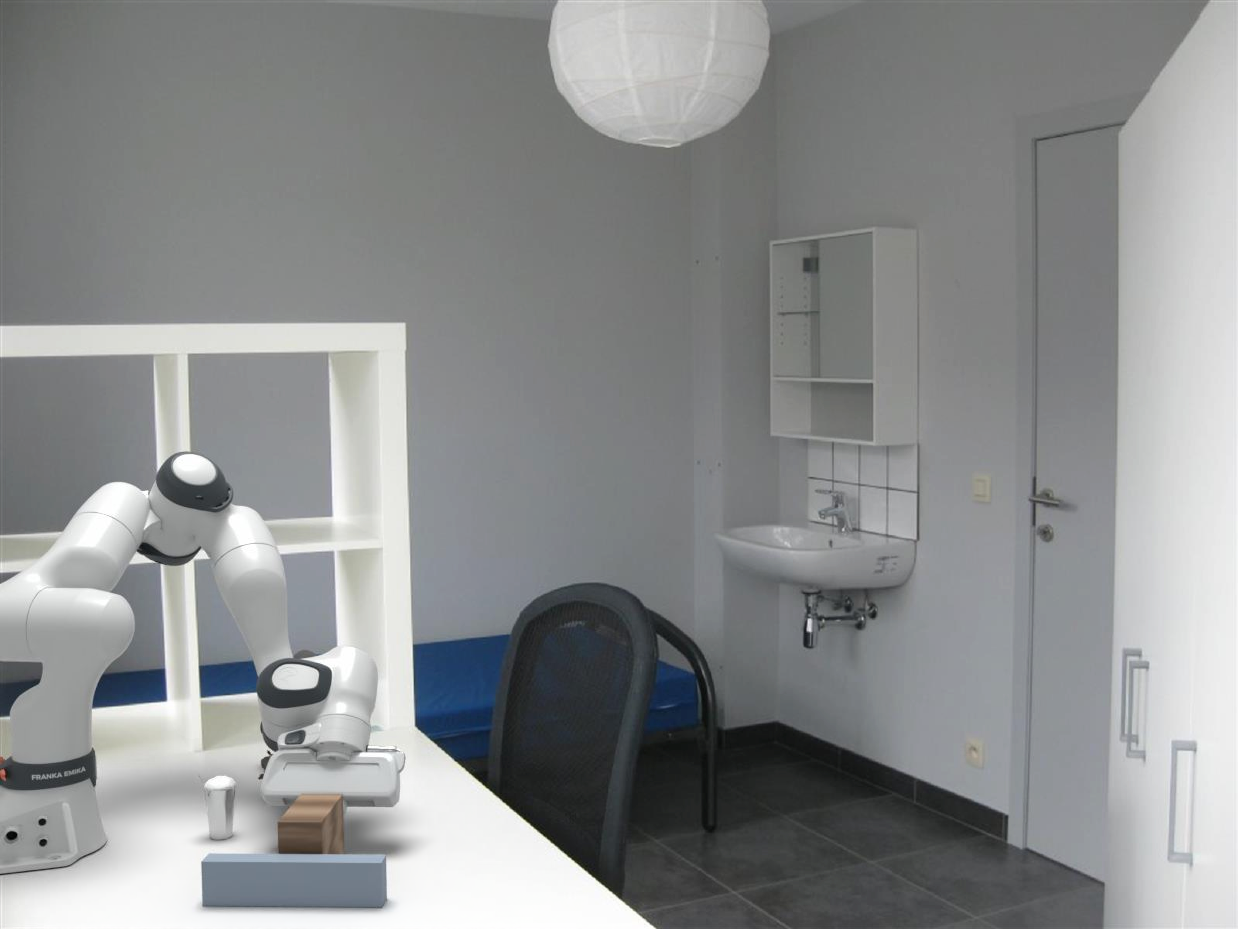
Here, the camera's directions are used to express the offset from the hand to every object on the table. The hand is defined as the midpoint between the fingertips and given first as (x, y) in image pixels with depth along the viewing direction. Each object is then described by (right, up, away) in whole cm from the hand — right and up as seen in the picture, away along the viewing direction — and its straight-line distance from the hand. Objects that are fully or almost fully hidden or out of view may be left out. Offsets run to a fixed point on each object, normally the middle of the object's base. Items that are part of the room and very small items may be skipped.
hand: (323, 832), depth 194 cm
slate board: (0, -5, -15) cm, 16 cm away
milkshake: (-18, -4, +10) cm, 21 cm away
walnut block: (0, -5, -6) cm, 8 cm away
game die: (-13, -2, +28) cm, 31 cm away
